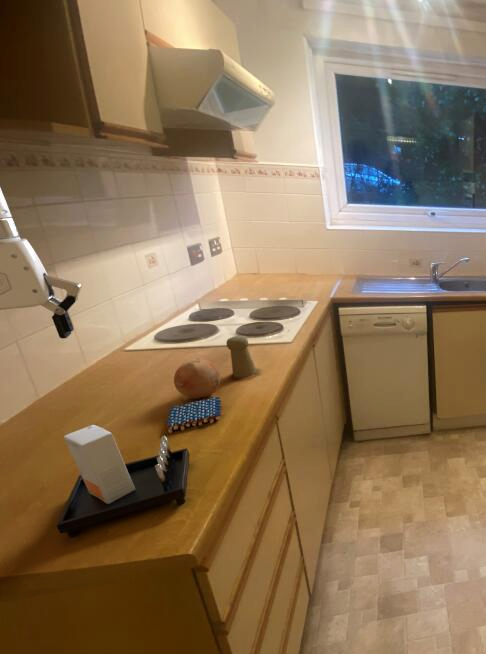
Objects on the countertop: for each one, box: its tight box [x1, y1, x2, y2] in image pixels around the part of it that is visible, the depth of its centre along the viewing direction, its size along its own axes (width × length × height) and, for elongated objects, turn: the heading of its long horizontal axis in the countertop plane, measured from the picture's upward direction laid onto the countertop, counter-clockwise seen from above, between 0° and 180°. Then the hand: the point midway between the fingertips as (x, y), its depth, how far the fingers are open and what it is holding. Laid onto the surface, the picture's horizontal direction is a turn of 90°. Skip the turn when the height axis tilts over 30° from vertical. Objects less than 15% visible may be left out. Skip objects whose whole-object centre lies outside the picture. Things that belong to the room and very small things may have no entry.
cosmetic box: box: [63, 424, 135, 504], centre depth 73 cm, size 6×4×12 cm
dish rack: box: [55, 435, 190, 538], centre depth 76 cm, size 16×14×8 cm
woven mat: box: [165, 396, 222, 434], centre depth 102 cm, size 10×11×2 cm
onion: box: [173, 358, 221, 400], centre depth 110 cm, size 10×10×10 cm
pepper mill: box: [226, 335, 258, 379], centre depth 123 cm, size 6×6×11 cm
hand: (25, 340), depth 70 cm, fingers open, 9 cm apart
